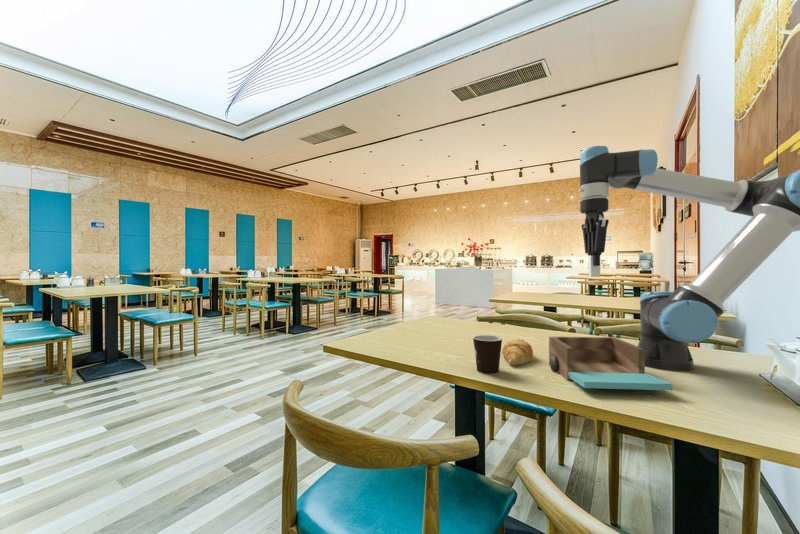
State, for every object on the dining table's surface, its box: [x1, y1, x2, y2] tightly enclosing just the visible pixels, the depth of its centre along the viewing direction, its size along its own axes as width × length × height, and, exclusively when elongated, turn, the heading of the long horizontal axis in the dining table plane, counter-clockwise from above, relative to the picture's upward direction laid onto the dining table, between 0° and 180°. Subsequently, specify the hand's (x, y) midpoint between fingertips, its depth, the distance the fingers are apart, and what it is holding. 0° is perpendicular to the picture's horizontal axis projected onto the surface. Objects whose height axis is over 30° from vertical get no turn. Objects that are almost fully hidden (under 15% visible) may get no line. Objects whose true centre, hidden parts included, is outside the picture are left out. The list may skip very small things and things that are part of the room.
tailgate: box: [568, 372, 673, 391], centre depth 90 cm, size 20×2×11 cm
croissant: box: [501, 339, 534, 366], centre depth 119 cm, size 21×10×8 cm, turn 153°
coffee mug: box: [472, 334, 503, 375], centre depth 107 cm, size 12×9×10 cm
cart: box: [548, 336, 646, 382], centre depth 103 cm, size 23×16×9 cm
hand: (594, 276), depth 106 cm, fingers closed
